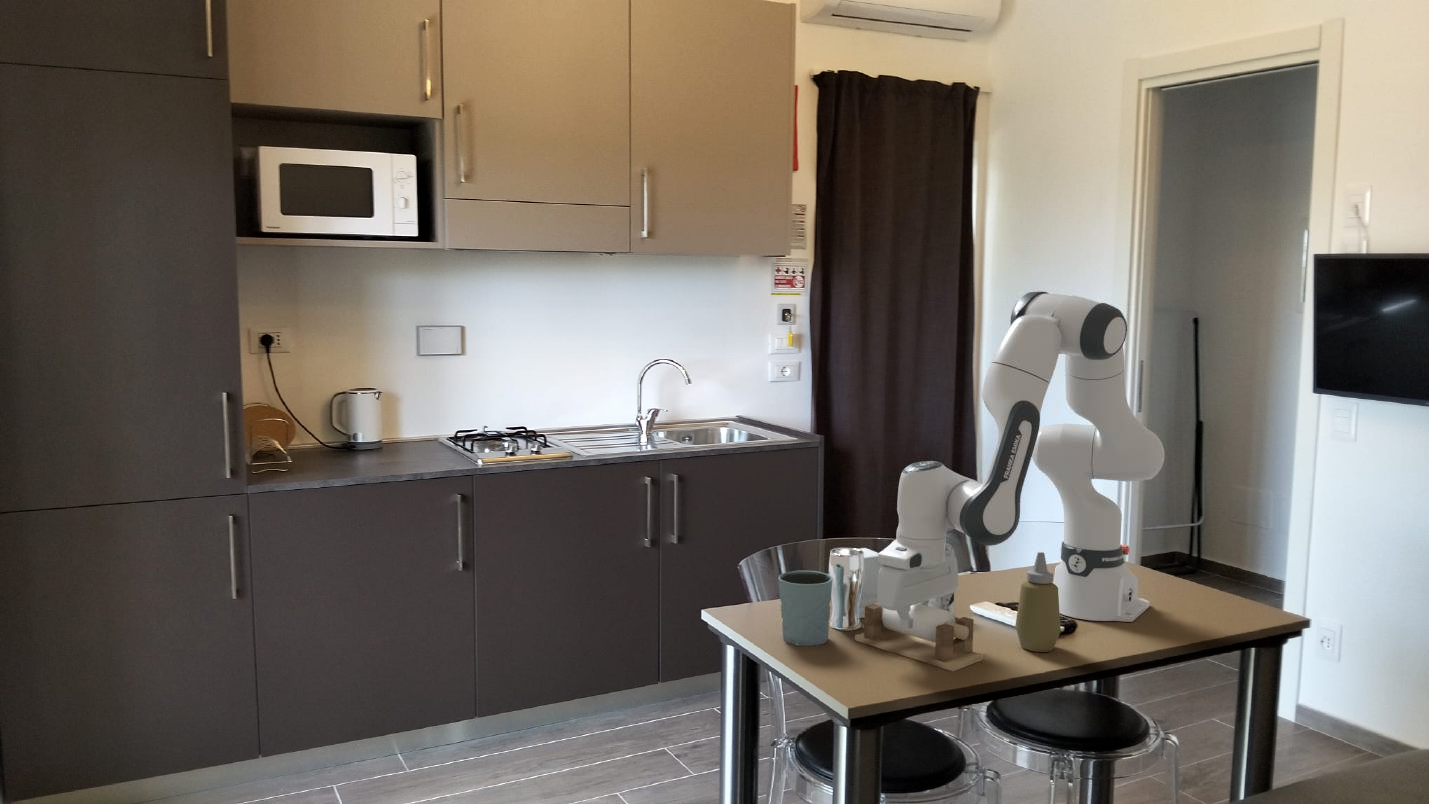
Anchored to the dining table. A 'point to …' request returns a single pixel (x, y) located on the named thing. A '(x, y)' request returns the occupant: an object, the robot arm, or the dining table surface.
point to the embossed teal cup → (805, 606)
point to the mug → (945, 602)
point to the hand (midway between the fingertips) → (918, 624)
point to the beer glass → (846, 587)
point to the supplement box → (869, 580)
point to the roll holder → (921, 642)
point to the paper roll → (923, 622)
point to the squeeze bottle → (1038, 609)
